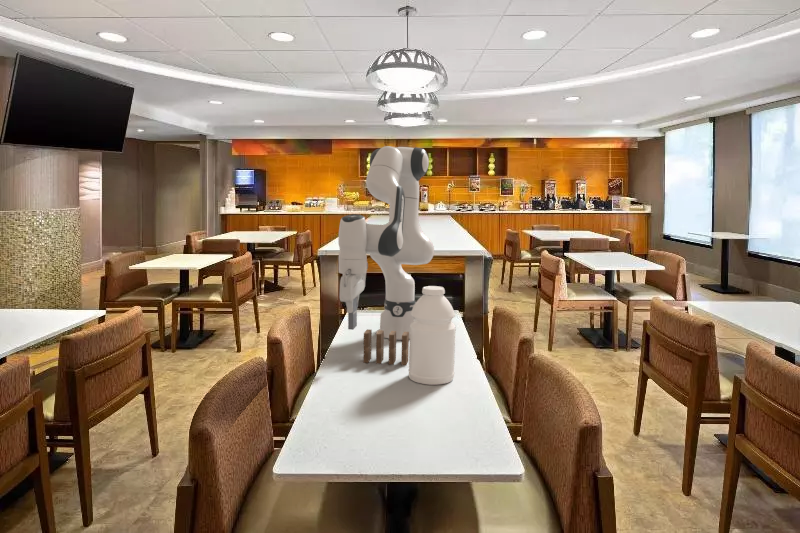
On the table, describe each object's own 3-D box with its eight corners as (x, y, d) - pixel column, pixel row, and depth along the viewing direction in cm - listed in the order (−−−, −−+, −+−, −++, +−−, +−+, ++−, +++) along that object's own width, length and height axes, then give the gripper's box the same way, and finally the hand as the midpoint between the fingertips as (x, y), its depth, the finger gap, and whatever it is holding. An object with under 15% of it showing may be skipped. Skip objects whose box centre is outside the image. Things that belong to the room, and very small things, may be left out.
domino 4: (401, 365, 190) (401, 335, 189) (403, 360, 195) (404, 331, 194) (406, 365, 190) (406, 335, 189) (408, 360, 195) (408, 331, 194)
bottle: (413, 386, 171) (415, 292, 167) (404, 371, 184) (405, 284, 180) (459, 384, 173) (463, 291, 169) (447, 369, 187) (449, 283, 183)
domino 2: (375, 363, 192) (376, 333, 190) (378, 359, 197) (379, 330, 195) (380, 363, 191) (381, 334, 190) (383, 359, 196) (383, 330, 195)
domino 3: (388, 364, 191) (389, 334, 190) (391, 359, 196) (391, 330, 195) (393, 364, 191) (393, 334, 189) (395, 360, 196) (396, 331, 194)
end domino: (348, 329, 184) (348, 298, 182) (351, 325, 189) (351, 295, 187) (353, 329, 184) (353, 298, 182) (356, 325, 188) (356, 295, 187)
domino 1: (363, 362, 192) (363, 333, 191) (366, 358, 197) (366, 329, 196) (368, 363, 192) (368, 333, 191) (371, 358, 197) (371, 329, 196)
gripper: (355, 272, 172) (355, 318, 175) (368, 262, 192) (368, 303, 195) (334, 271, 173) (334, 317, 176) (350, 262, 193) (350, 302, 196)
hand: (352, 310), depth 185 cm, fingers closed on end domino, 5 cm apart
